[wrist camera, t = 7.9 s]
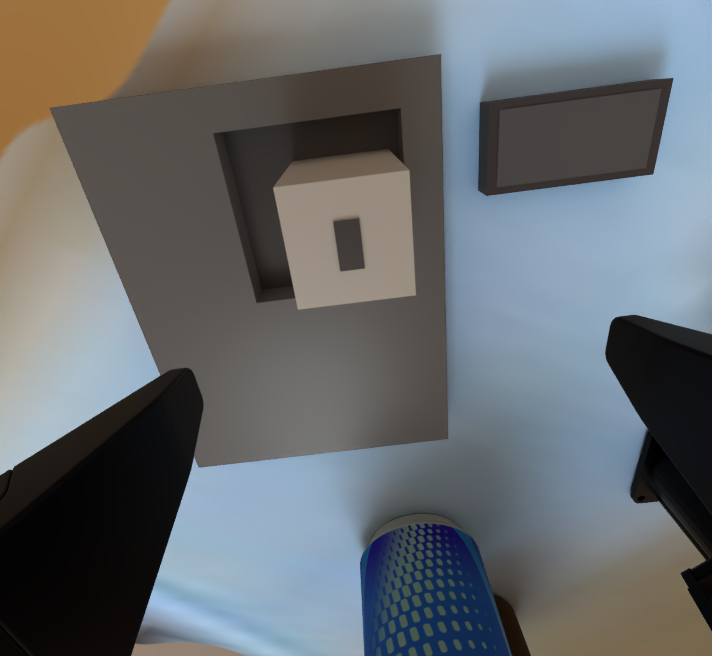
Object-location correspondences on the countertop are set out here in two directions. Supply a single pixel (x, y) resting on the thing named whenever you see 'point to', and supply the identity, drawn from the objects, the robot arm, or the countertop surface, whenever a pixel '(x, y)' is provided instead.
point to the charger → (347, 228)
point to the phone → (571, 136)
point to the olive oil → (511, 628)
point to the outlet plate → (271, 254)
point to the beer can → (427, 592)
